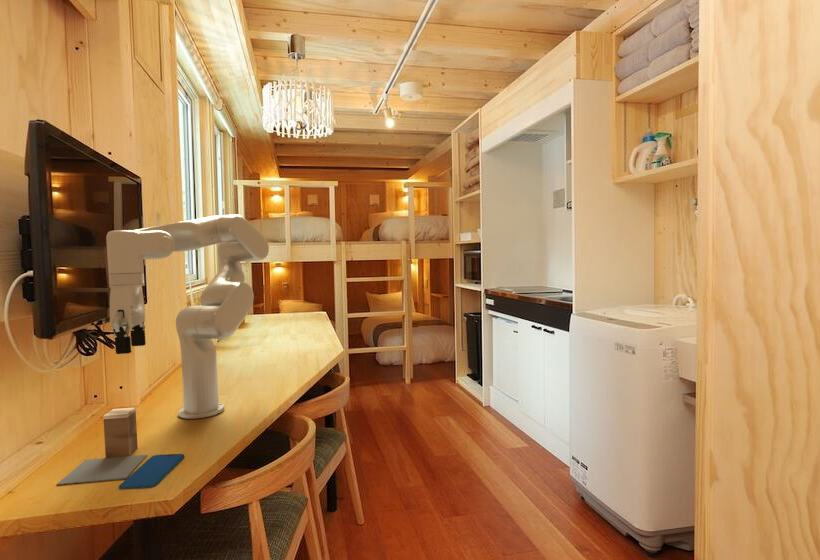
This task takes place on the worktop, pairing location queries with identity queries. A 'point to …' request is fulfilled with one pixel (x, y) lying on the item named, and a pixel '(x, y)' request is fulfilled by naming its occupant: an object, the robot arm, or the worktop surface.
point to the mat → (103, 469)
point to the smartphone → (152, 471)
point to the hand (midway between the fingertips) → (131, 349)
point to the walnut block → (120, 432)
